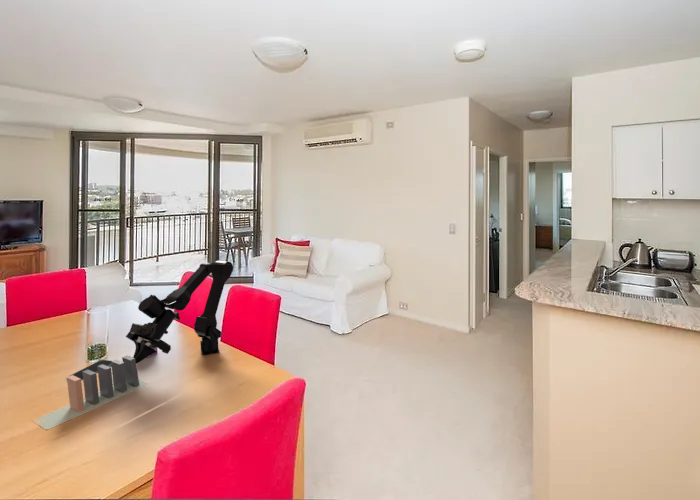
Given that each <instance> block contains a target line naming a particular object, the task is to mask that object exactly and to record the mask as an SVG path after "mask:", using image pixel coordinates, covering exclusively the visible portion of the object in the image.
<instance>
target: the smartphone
mask: <svg viewBox="0 0 700 500" xmlns="http://www.w3.org/2000/svg"><path fill="white" fill-rule="evenodd" d="M111 361H112V360H108V359H101V360H98V361H96V362H93V363H91V364H89V365H87V366H85V367H84V368H82V369H79V370H78V371H76V372H74V373H72V374H70V375H68V376H67V377H69V376H72V375H74V376H76V377H78V378H80V379H81V381H83V373H82V371H85V370H90V371H93V372H95V373H96V374H98V367H97V366H99V365H102V364H103V365H106V366H108V367H112V365H111Z"/></svg>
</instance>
